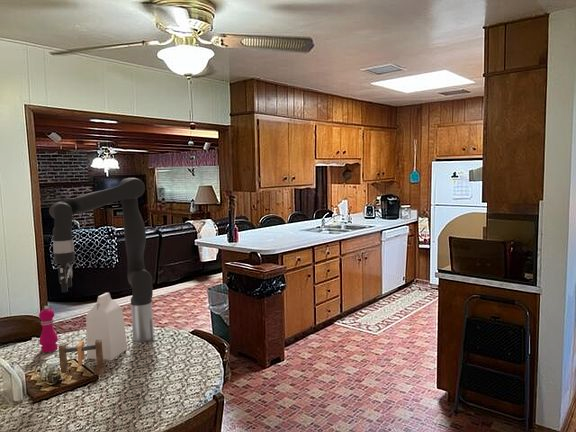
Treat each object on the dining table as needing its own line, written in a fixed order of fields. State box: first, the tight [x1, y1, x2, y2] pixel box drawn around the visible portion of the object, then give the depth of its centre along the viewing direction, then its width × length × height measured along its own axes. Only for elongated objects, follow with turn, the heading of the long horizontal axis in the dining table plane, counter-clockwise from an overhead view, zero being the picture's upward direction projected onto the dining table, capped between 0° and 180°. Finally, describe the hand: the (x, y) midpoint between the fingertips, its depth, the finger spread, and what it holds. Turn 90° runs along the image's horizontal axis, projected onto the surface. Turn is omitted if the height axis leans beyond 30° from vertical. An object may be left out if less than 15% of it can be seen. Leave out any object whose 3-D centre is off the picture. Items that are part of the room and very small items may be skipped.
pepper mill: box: [38, 305, 59, 353], centre depth 194 cm, size 7×7×20 cm
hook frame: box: [58, 339, 107, 376], centre depth 170 cm, size 16×10×12 cm, turn 105°
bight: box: [76, 340, 86, 366], centre depth 170 cm, size 1×6×7 cm, turn 15°
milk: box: [85, 292, 129, 361], centre depth 188 cm, size 12×12×26 cm
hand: (67, 289), depth 181 cm, fingers open, 8 cm apart
